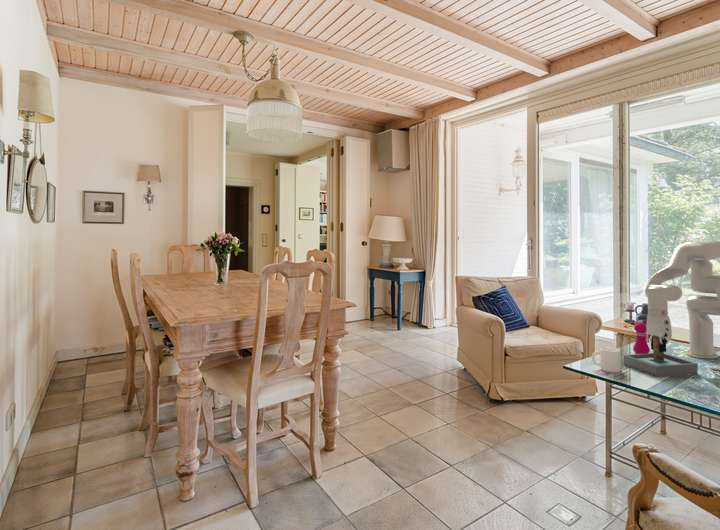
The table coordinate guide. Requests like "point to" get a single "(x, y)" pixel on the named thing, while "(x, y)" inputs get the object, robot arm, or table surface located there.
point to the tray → (662, 368)
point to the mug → (608, 359)
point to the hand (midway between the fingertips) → (658, 350)
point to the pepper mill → (641, 339)
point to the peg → (657, 349)
